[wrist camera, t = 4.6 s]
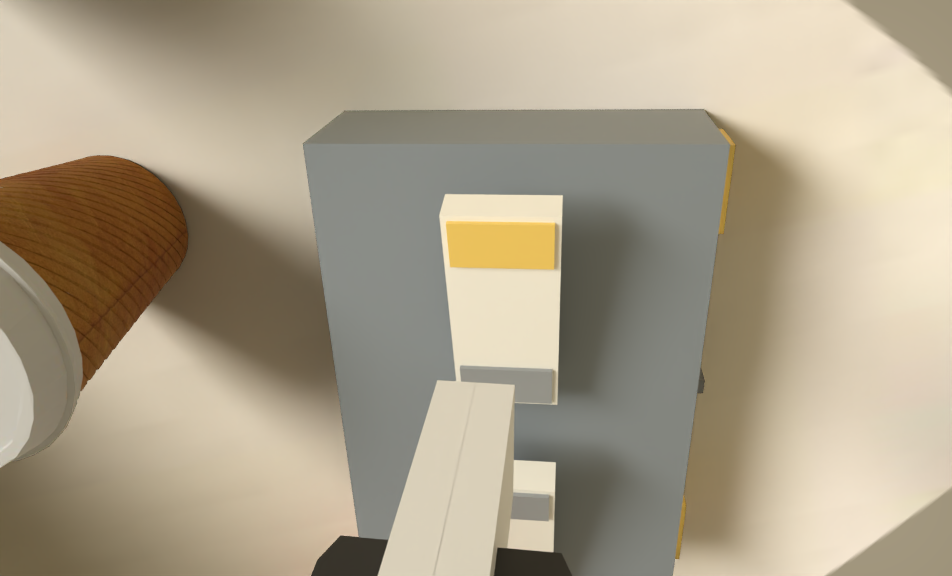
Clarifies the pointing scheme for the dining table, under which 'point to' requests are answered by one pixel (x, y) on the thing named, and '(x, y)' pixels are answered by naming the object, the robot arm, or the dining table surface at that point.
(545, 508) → the rocker
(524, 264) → the rocker
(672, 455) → the console
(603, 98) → the dining table surface
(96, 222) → the disposable coffee cup
